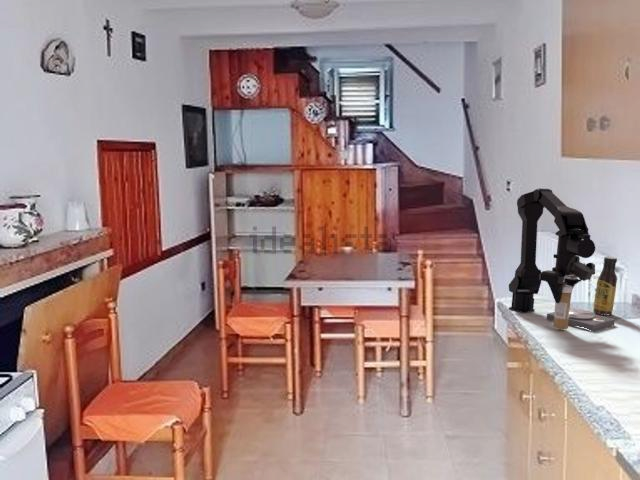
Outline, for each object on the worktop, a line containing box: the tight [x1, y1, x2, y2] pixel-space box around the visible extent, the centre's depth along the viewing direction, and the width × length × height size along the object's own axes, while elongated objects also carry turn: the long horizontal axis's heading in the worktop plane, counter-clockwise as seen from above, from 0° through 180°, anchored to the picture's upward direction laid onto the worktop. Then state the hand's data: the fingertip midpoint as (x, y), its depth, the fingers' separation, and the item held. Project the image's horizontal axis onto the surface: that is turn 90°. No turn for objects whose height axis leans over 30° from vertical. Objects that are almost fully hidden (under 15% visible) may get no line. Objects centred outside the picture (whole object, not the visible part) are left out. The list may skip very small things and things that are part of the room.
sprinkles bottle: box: [552, 285, 574, 331], centre depth 216 cm, size 5×5×13 cm
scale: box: [545, 311, 616, 332], centre depth 228 cm, size 16×14×2 cm
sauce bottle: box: [592, 256, 618, 316], centre depth 240 cm, size 6×6×20 cm
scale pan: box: [569, 307, 595, 320], centre depth 229 cm, size 12×12×1 cm
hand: (561, 302), depth 216 cm, fingers closed on sprinkles bottle, 4 cm apart
